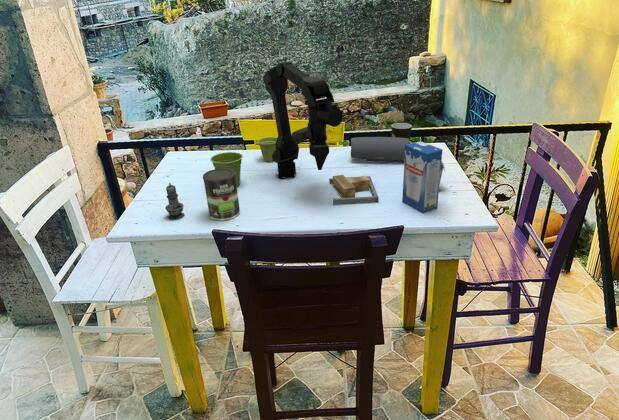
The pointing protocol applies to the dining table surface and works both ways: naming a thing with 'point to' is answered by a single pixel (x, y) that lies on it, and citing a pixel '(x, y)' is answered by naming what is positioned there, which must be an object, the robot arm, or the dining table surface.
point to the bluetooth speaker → (378, 148)
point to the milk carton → (421, 176)
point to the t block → (350, 185)
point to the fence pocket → (355, 200)
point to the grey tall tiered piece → (174, 204)
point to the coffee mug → (401, 130)
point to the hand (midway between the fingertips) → (319, 165)
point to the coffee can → (221, 194)
